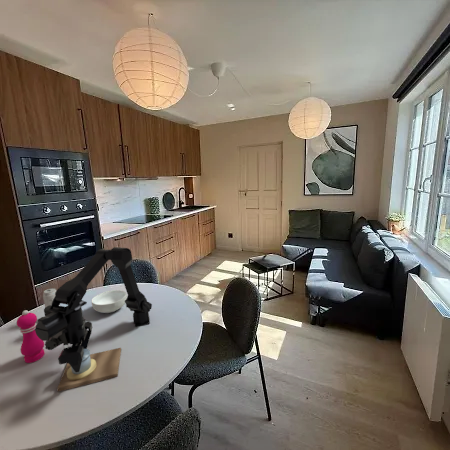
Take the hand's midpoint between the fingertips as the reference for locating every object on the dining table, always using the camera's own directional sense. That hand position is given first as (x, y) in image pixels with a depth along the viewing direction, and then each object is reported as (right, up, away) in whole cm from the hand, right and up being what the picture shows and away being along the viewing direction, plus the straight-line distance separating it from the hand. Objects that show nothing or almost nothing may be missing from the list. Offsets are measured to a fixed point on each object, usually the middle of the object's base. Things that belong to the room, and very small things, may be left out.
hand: (80, 362), depth 86 cm
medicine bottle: (-27, -1, +27) cm, 39 cm away
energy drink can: (-35, +1, +37) cm, 51 cm away
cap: (0, -2, 0) cm, 2 cm away
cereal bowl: (-10, +3, +44) cm, 45 cm away
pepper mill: (-24, -4, +10) cm, 26 cm away
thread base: (+3, -4, +3) cm, 5 cm away
